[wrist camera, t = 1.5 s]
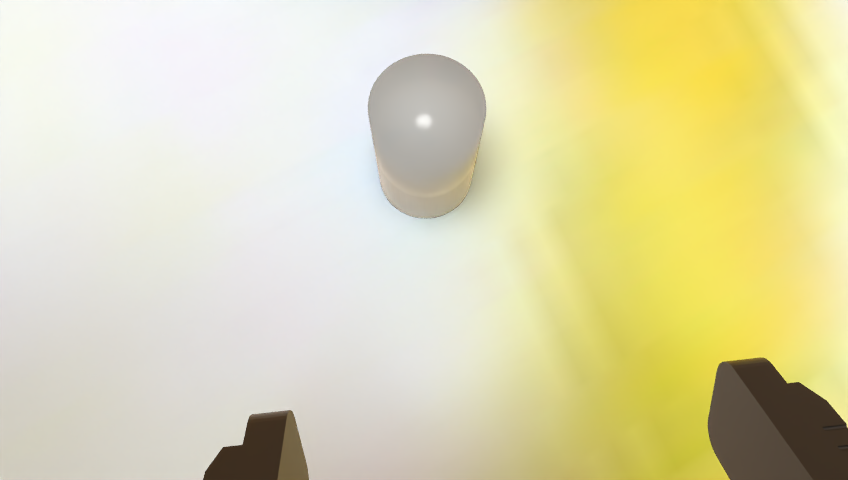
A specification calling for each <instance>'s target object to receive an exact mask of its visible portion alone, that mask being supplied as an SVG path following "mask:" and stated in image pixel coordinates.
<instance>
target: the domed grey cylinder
mask: <svg viewBox="0 0 848 480" xmlns="http://www.w3.org/2000/svg"><path fill="white" fill-rule="evenodd" d="M368 115H369V121H370V127H371V132H372V138H373V144H374V149H375V155H376V161H377V167H378V172H379V178H380V184H381V187H382V190H383V192H384V194H385V196H386V198H387V199H388V201H389V202H390V203H391V204H392V205H393V206H394V207H395V208H396V209H398V210H399V211H401V212H403V213H405V214H407V215H409V216H412V217H417V218H435V217H439V216H442V215H445V214H447V213H449V212H450V211H452V210H454V209H455V208H456V207H457V206H458V205H459V204H460V203H461V202H462V201H463V200H464V198H465V197H466V195H467V193H468V191H469V188H470V185H471V180H472V176H473V171H474V166H475V162H476V157H477V153H478V148H479V144H480V139H481V135H482V130H483V126H484V121H485V117H486V100H485V95H484V92H483V90H482V87H481V85H480V83H479V81H478V80H477V79H476V77H475V76H474V75H473V74H472V73H471V72H470V70H468V69H467V68H466V67H465V66H464V65H462V64H460V63H459V62H457V61H455V60H453V59H451V58H448V57H445V56H441V55H436V54H419V55H413V56H409V57H406V58H403V59H401V60H399V61H397V62H395V63H393V64H392V65H390V66H389V67H388V68H387V69H385V70H384V71H383V72H382V73H381V75H380V76H379V77H378V78H377V80H376V82H375V83H374V85H373V87H372V90H371V92H370V96H369V101H368Z"/></svg>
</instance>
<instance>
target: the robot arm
mask: <svg viewBox="0 0 848 480" xmlns="http://www.w3.org/2000/svg"><path fill="white" fill-rule="evenodd" d="M708 432H709V437H710V441H711V445H712V447H713V450H714V452H715V454H716V456H717V458H718V459H719V461H720V463H721V465H722V466H723V468H724V470H725V472H726V473H727V475H728V477H729V478H730V480H848V428H847V426H846V423H845V422H844V421H843V419H842V418H841V417H840V416H839V415H838V414H837V412H836V411H835V410H834V409H833V408H832V406H831V405H830V404H829V403H828V402H827V401H826V400H825V399H823V398H822V397H820V396H819V395H817V394H816V393H814V392H813V391H811V390H810V389H808V388H807V387H805V386H804V385H802V384H801V383H799V382H796V383H788V384H787V382H786V381H785V380H784V379H783V377H782V376H781V375H780V374H779V372H778V371H777V370H776V369H775V367H774V366H773V365H772V364H771V363H770V362H769V361H768V360H767V359H765V358H753V359H744V360H736V361H727V362H722V363H720V365H719V366H718V369H717V373H716V379H715V384H714V390H713V395H712V401H711V406H710V412H709V417H708ZM203 480H309V477H308V469H307V464H306V460H305V456H304V452H303V448H302V444H301V441H300V437H299V433H298V429H297V425H296V421H295V417H294V414H293V412H292V411H291V410H288V411H279V412H271V413H262V414H253V415H251V416H250V417H249V420H248V423H247V428H246V432H245V437H244V441H243V445H238V446H230V447H223V448H222V449H221V451H220V452H219V453H218V455H217V456H216V458H215V459H214V460H213V462H212V463H211V464H210V466H209V467H208V469H207V470H206V471H205V475H204V478H203Z"/></svg>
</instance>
